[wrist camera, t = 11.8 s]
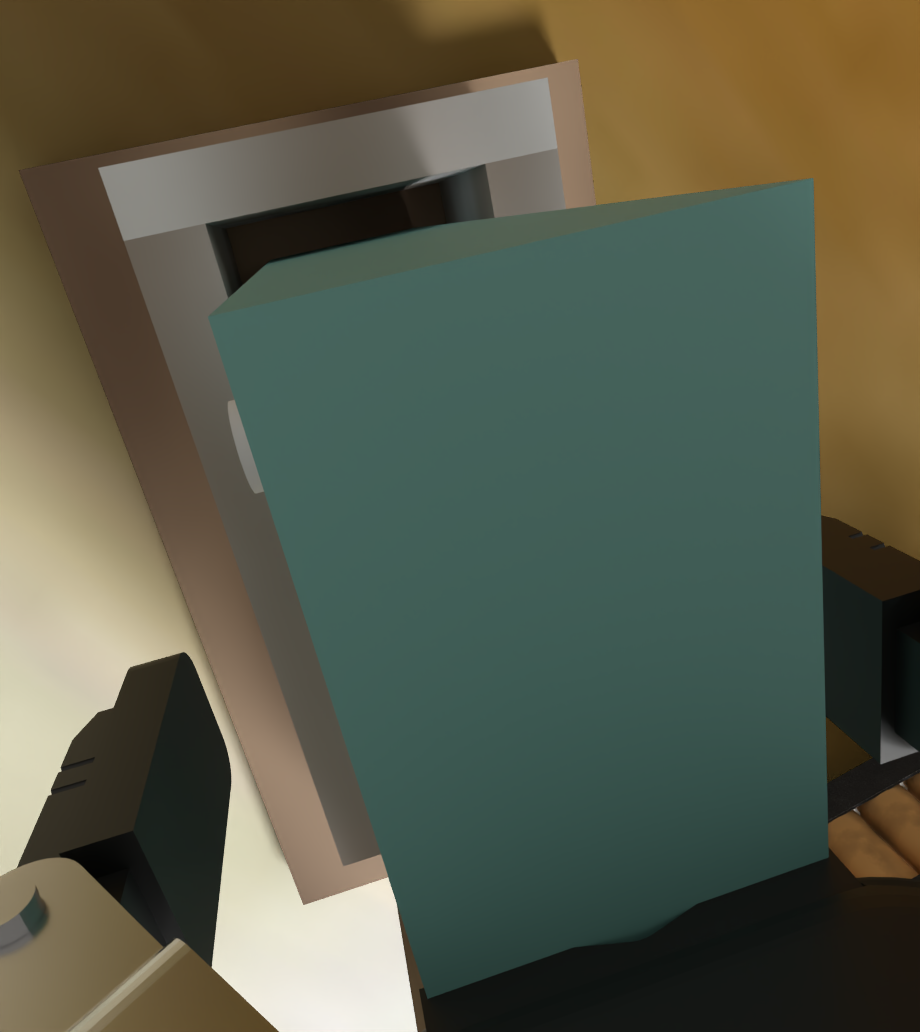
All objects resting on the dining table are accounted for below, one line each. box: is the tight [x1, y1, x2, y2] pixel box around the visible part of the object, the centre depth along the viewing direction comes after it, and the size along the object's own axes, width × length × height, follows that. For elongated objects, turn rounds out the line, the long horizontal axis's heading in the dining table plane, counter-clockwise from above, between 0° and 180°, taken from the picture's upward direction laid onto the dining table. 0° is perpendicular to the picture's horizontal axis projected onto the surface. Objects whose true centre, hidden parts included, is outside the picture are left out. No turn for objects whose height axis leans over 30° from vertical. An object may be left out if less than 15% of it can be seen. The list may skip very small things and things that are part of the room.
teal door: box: [208, 178, 829, 999], centre depth 12 cm, size 4×11×13 cm, turn 12°
